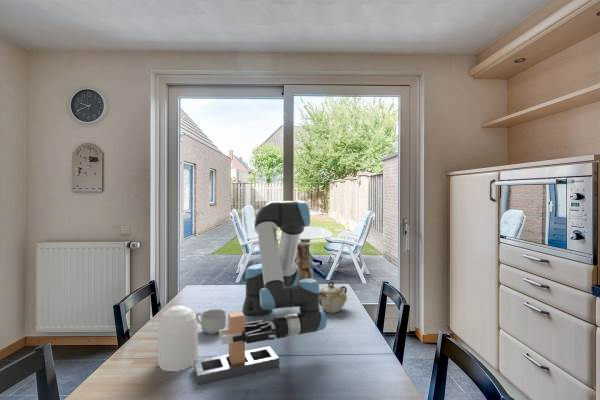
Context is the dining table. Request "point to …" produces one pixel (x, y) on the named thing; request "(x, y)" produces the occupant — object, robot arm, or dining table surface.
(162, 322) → the container
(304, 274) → the vase
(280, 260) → the robot arm
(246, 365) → the rail
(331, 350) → the dining table surface
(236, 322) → the post
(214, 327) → the teacup
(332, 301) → the sugar bowl
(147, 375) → the dining table surface
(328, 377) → the dining table surface
